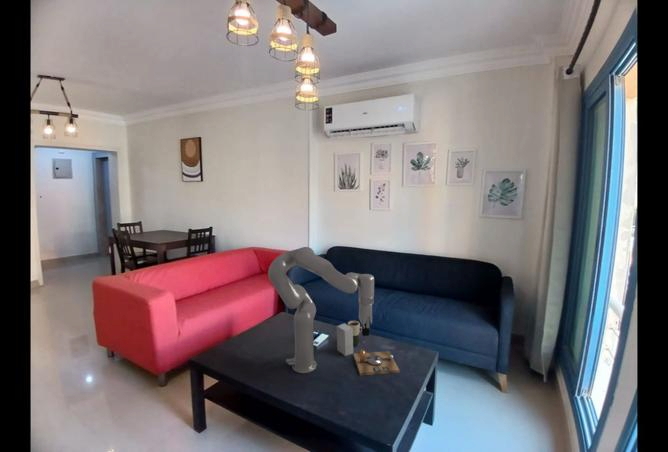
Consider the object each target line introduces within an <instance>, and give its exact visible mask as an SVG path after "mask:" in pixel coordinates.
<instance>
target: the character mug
mask: <svg viewBox="0 0 668 452" xmlns="http://www.w3.org/2000/svg"><path fill="white" fill-rule="evenodd" d="M347 325H348V326H350V327H352V328H353V347H355V346H359V344H360V343H359V341H360V340H359V334H360V333H362V327H363V326H361V322H359V321H357V320H350V321H348V322H347Z"/></svg>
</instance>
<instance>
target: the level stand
mask: <svg viewBox="0 0 668 452" xmlns="http://www.w3.org/2000/svg"><path fill="white" fill-rule="evenodd" d="M352 355H353V359H354V362H355V365H356V366H357V367H356V368H357V370H358V373H359V376H360V377H361V376H374V375H375V376H376V375H388V374H390V373H391V374H400V368H399V367H398V365H397V363H396V361H395V359H394V358H393V359H391V360H382V363H381V364H380V365H371V364H369V363H368V362H364V363H361V362H360V352H356V353H355V352H353V354H352ZM370 355H377V356H380V357H381V358H389V356H390V355H392V354H391V352H390V351H388V350H387V351H372V352H365V359H367V357H368V356H370Z"/></svg>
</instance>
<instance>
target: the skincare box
mask: <svg viewBox="0 0 668 452" xmlns="http://www.w3.org/2000/svg"><path fill="white" fill-rule="evenodd" d="M336 342H337V343H336V344H337V345H336V346H337V348H336V349H337V351H338V352H339V353H341V354H342V355H343V356H345V357H346V356H349V355H353V354H354V346H353V328H352V327H350V326H348V324H346V323H341V324H339V325H336Z"/></svg>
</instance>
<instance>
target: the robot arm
mask: <svg viewBox="0 0 668 452" xmlns="http://www.w3.org/2000/svg"><path fill="white" fill-rule="evenodd" d="M296 266H299V267H301V268H303V269H305V270H307V271H309V272H311V273H313V274H315V275H317V276H319V277H320V278H322V279H323V280H324V281H326V283H328V284H329V285H330V286H333V287H334V288H335V289H337V290H339V291H342V292H343V293H346V294H355V292H357V290H358V300H357V301H358V304H359V305H358V320H359V321H360V322H359V323H360V325H361V327H362V332H361V335H362V336H363V337H369V336H370V325H372V323H373V305H374V304H375V302H374V301H375V277H374V275H372V274H371V273H363V274H362V273H357V272H351V271H350V272H346V274H343V273H342V272H341V271H338V270H337V269H336V268H335V267H334V265H333V264H332V263H331V262H330V261H329V260H327V259H325V258H323V257H321V256H319V255H318V254H315V251H314V250H313V248H312V247H309V246H303V247H300V248H296V249H292V250H290V251H286V252H283V253H281V254H279V255H278V256H277V257H276V258H275V259H274V260H273V261H272V262H271V264H270V265H269V267H268V270H267V271H268V272H267V275H268V279H269V281H270V283H271V284H272V285H273V287H274V288H275V290H276V292H277V294H278V295H279V297H280V299H281V300H282V301H283V303H284V305H285V306H286V307H287V308H288V309H290V310H295V309H296V311H295V313H294V315H293V328H294V357H292V358H286V360H285V361H286V364H288V366H291V368H292V370H293V371H294V372H296V373H299V374H308V373H312V372H314V371H315V370H317V365H318V363H317V361H316V360H314V359H315V357H314V356H315V354H314V353H315V351H314V346H315V345H314V344H315V343H314V342H315V341H314V338H315V337H314V334H315V333H314V319H315V316H316V315H317V314H316V313H317V308H316V304H315V303H314V301H313V299H312V298H311V296H310V295H309V293H308V292H307V291H306V290H307V289H305V288H304V287H303V286H302V285H301V284H298V283H296V284H294V283H293V282H292V280H291V279H290V278H289V277H288V275H287V272H288V271H289V270H290V269H291V268H293V267H296Z"/></svg>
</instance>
